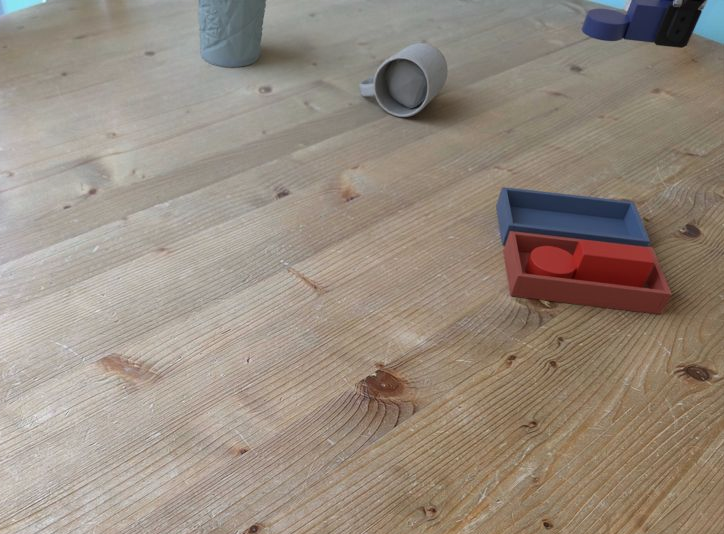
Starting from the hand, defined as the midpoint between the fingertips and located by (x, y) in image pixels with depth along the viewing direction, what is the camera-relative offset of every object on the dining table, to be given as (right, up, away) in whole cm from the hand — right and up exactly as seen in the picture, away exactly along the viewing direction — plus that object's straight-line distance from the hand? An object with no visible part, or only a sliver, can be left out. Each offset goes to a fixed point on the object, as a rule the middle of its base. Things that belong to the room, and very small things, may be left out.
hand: (665, 38), depth 80 cm
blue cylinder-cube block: (-3, 0, 0) cm, 3 cm away
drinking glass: (-48, +9, +28) cm, 56 cm away
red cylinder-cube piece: (-12, -26, -7) cm, 30 cm away
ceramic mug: (-25, -1, +20) cm, 32 cm away
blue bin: (-11, -21, 0) cm, 24 cm away
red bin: (-12, -27, -6) cm, 30 cm away
